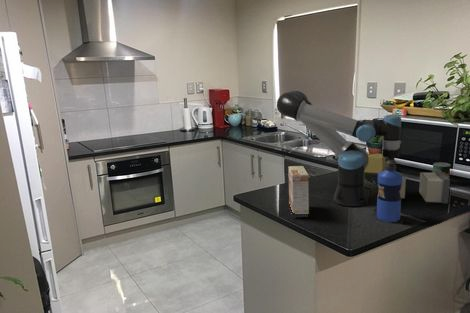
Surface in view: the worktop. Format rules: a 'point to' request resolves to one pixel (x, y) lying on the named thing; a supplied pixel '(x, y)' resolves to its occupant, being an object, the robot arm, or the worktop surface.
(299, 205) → the coffeecake box
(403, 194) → the beige box
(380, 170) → the cheese
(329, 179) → the worktop surface
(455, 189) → the worktop surface
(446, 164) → the canned tomato
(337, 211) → the worktop surface
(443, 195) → the beige stepped block
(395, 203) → the water bottle
